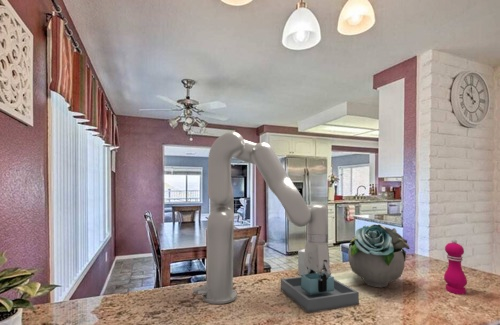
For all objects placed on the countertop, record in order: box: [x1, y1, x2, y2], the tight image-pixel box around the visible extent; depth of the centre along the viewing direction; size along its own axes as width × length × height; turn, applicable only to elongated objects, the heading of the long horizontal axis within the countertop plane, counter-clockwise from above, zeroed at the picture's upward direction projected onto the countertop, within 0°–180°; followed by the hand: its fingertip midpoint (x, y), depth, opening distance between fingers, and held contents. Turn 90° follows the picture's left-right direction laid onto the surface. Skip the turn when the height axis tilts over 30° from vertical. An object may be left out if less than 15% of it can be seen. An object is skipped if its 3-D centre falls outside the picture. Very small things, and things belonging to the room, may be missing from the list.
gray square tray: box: [280, 276, 360, 314], centre depth 102 cm, size 20×20×4 cm
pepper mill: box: [443, 238, 468, 295], centre depth 109 cm, size 7×7×20 cm
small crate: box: [300, 272, 335, 295], centre depth 103 cm, size 10×6×5 cm, turn 110°
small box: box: [297, 248, 317, 276], centre depth 128 cm, size 8×6×10 cm
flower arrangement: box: [347, 224, 411, 288], centre depth 116 cm, size 25×25×24 cm
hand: (317, 287), depth 102 cm, fingers closed on small crate, 5 cm apart
